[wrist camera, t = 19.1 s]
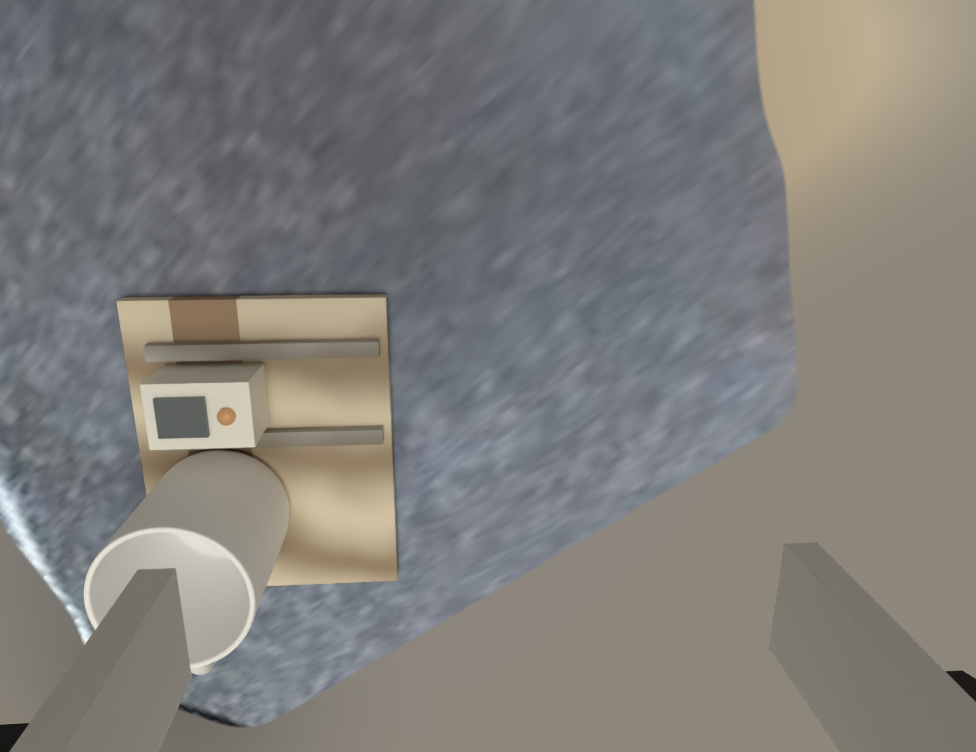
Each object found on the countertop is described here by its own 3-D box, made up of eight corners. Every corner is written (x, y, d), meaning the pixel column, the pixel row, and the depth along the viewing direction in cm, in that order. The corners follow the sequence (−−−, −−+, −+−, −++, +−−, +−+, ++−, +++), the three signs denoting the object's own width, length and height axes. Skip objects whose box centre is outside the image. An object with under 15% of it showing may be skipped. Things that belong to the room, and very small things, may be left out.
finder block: (164, 364, 44) (137, 386, 40) (264, 362, 45) (247, 383, 40) (173, 425, 45) (147, 452, 41) (269, 422, 46) (253, 449, 42)
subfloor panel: (124, 297, 44) (110, 303, 42) (386, 293, 45) (385, 300, 43) (167, 580, 50) (156, 597, 48) (398, 570, 51) (397, 587, 49)
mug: (171, 607, 49) (103, 725, 39) (151, 445, 46) (70, 529, 35) (298, 603, 50) (264, 719, 40) (288, 444, 46) (248, 526, 36)
